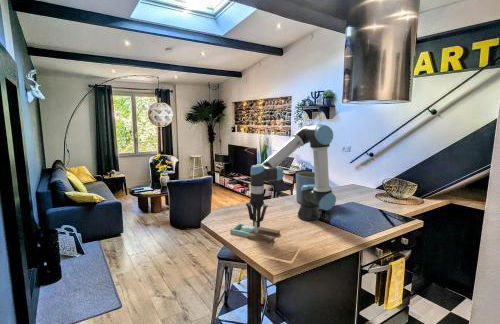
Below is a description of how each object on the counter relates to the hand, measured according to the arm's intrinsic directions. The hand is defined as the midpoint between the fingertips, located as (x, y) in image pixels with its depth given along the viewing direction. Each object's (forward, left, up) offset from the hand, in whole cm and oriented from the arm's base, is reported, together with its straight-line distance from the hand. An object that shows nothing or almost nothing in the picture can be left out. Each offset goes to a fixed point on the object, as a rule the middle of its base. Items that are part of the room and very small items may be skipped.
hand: (256, 232), depth 156 cm
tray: (0, -8, -3) cm, 9 cm away
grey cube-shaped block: (0, -7, -2) cm, 7 cm away
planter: (-81, +12, -3) cm, 82 cm away
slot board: (0, +5, -3) cm, 5 cm away
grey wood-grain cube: (0, -3, -2) cm, 3 cm away
